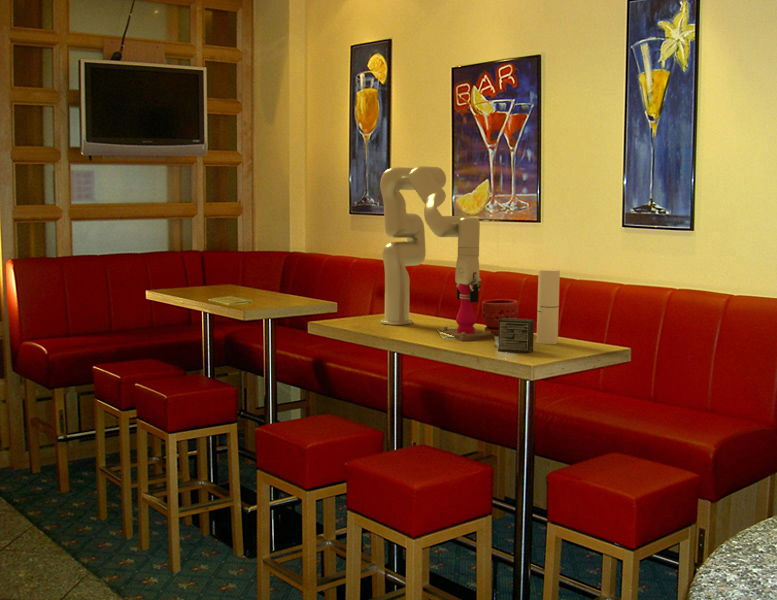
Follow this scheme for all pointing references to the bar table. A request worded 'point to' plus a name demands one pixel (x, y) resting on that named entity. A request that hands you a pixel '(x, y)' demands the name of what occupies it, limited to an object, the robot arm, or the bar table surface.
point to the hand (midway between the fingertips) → (467, 300)
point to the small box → (516, 335)
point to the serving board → (469, 334)
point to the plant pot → (498, 313)
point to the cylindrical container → (548, 306)
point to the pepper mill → (465, 311)
